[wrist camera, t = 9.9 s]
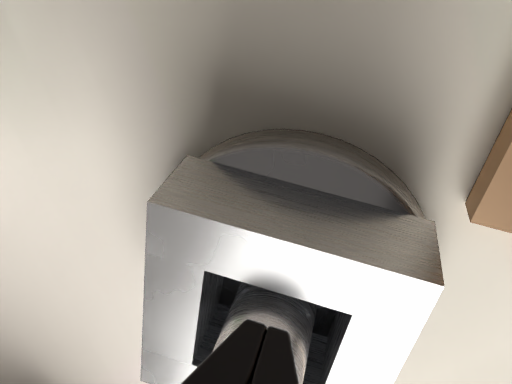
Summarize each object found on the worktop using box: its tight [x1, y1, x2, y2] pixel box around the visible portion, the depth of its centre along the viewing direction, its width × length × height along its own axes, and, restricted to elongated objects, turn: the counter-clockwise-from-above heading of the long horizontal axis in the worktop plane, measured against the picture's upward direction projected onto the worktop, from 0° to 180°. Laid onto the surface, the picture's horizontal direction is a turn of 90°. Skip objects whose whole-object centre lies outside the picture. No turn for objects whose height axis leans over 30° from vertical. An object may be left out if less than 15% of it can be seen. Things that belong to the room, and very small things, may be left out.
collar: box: [141, 155, 444, 384], centre depth 13 cm, size 7×7×3 cm
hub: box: [199, 129, 425, 384], centre depth 13 cm, size 9×9×6 cm
